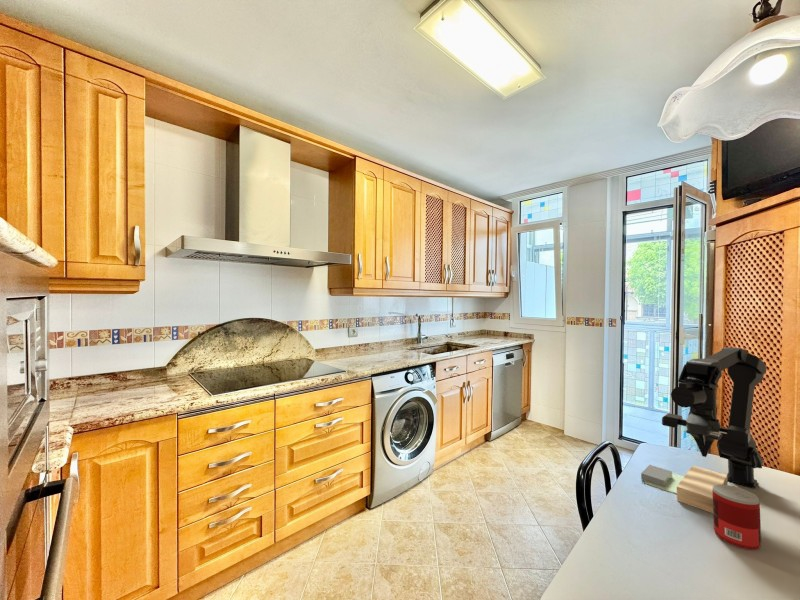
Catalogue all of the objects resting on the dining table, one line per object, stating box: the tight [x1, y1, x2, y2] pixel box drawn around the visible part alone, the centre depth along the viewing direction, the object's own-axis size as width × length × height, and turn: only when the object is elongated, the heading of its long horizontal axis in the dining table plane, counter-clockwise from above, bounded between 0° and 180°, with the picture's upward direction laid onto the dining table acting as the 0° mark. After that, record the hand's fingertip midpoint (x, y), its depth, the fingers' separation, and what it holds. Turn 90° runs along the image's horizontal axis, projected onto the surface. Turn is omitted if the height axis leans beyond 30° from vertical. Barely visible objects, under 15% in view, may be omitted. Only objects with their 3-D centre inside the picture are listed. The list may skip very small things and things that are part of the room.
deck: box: [676, 465, 728, 514], centre depth 98 cm, size 20×8×4 cm, turn 128°
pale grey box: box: [640, 464, 673, 487], centre depth 106 cm, size 9×6×2 cm, turn 129°
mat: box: [643, 472, 685, 495], centre depth 105 cm, size 14×9×1 cm, turn 128°
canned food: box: [712, 484, 762, 551], centre depth 79 cm, size 8×8×11 cm
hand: (704, 456), depth 97 cm, fingers closed
